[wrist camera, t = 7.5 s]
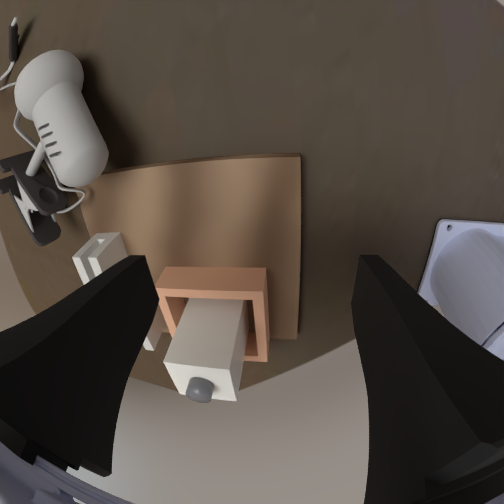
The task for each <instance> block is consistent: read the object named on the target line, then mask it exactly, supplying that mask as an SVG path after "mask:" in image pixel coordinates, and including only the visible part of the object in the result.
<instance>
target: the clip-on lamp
mask: <svg viewBox="0 0 504 504" xmlns="http://www.w3.org/2000/svg"><path fill="white" fill-rule="evenodd" d="M17 20H18V17H17V16H15V18H14V20H13V22H12V24H11V25H10V26H9V59H10V61H11V65H10V66H9V68H8V70H7V71H6V72H5V73H4V74H3V75H2V76H1V77H0V81H1V80H2V79H4V78H5V77H6V76H7V74H8V73H9V72H10V71H11V70H12V68H13V66H14V62H15V60H16V59H17V58H18V57H17V49H18V48H19V45H18V39H19V34H18V25H17V24H16V22H17ZM83 81H84V72H83V69H82V66H81V63H80V61H79V59H77V58H76V57H75V56H74V55H73V54H72V53H70V52H68V51H64V50H52V51H49V52H46V53H44V54H41V55H39V56H38V57H36V58H35V59H33V60H32V61H31V62H30V63H29V64H28V65H27V66H26V67H25V68H24V69H23V70H22V72H21V73H20V75H19V76H18V79H17V82H14V83H10V84H8V85H6V86H4V87H2V88H0V91H1V90H3V89H5V88H7V87H10V86H13V85H16V86H15V91H14V94H15V102H16V106H17V108H18V111H17V114H16V117H15V120H14V128H15V130H16V131H17V133H18V134H19V135H20V136H21V137H23V138H24V139H25V140H26V141H27V142H28V143H29V144H30V145H31V146H32V147H33V148H34V149H35V150H33V151H30V152H26V153H22V154H19V155H15V156H12V157H8V158H5V159H2V160H0V170H1V171H2V172H3V173H6V172H9V171H11V172H12V173H13V175H12V176H9V177H6V178H3V179H1V180H0V193H1V194H4V193H7V192H9V194H10V196H11V198H12V200H13V202H14V204H15V206H16V208H17V210H18V212H19V214H20V216H21V218H22V220H23V222H24V224H25V226H26V227H27V229H28V231H29V233H30V235H31V236H32V238H33V240H34V242H35V243H36V244H37V245H39V246H45V245H47V244H49V243H51V242H52V241H54V240H56V239H58V238H59V236H60V233H61V229H60V227H59V225H58V224H57V222H56V219H55V215H54V213H65V212H67V211H70V210H71V209H73V208H74V207H76V206H77V205H78V204H79V203H80V202H81V201H82V200H83V199H84V198H85V196H86V192H85V191H84V190H83V189H76V188H66V187H63V186H62V184H64V185H66V186H69V187H82V186H86V185H88V184H90V183H92V182H93V181H95V180H96V179H97V178H98V177H99V176H100V175H101V173H102V172H103V170H104V169H105V166H106V164H107V160H108V155H109V152H108V149H107V146H106V143H105V141H104V139H103V137H102V135H101V133H100V131H99V129H98V127H97V125H96V123H95V121H94V119H93V117H92V115H91V113H90V111H89V109H88V106H87V104H86V102H85V100H84V98H83V96H82V93H81V91H82V87H83ZM21 115H23V116H24V117H25V118H27V119H29V120H32V121H34V124H35V126H36V129H37V131H38V134H39V137H40V139H41V140H40V142H39V144H38V145H37V144H36V143H35V142H34V141H33V140H32V139H31V138H30V137H29V136H28V135H26V134H25V133H24V132H23V131H22V130H21V129H20V128H19V121H20V118H21ZM46 153H47V155H46ZM43 159H44V161H45V162H46V163H47V165H48V167H49V168H50V170H51V172H52V174H53V176H54V179H55V182H56V183H55V182H54V181H53V180H52V179H51V177H50V176H49V175H48V174H47V172H46V171H45V170H44V169H43V167H42V166H41V163H42V161H43ZM61 183H62V184H61ZM61 190H63V191H69V192H80V193H83V197H82V198H81V199H80V200H79V201H78V202H76V203H75V204H74V205H72V206H70V207H69V208H66V207H67V203H68V198H67V197H66V195H65V194H64V193H63V192H62V191H61ZM65 208H66V209H65Z"/></svg>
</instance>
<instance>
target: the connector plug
mask: <svg viewBox="0 0 504 504" xmlns="http://www.w3.org/2000/svg"><path fill="white" fill-rule="evenodd" d="M248 331H249V320H248V309H247V300H238V299H209V298H189V300H188V302H187V304H186V307H185V309H184V312H183V314H182V316H181V319H180V321H179V324H178V326H177V329H176V331H175V334H174V336H173V339H172V341H171V344H170V346H169V349H168V351H167V354H166V356H165V359H164V361H163V362H164V364H165V366H166V368H167V370H168V372H169V374H170V376H171V378H172V380H173V382H174V384H175V385H176V387H177V389H178V391H179V393H180V394H183V395H186V396H187V397H188V398H190V399H191V400H193V401H196V402H201V403H208V402H210V401H211V399H219V400H229V401H237V395H238V390H239V384H240V379H241V373H242V367H243V361H244V355H245V349H246V343H247V337H248Z"/></svg>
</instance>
